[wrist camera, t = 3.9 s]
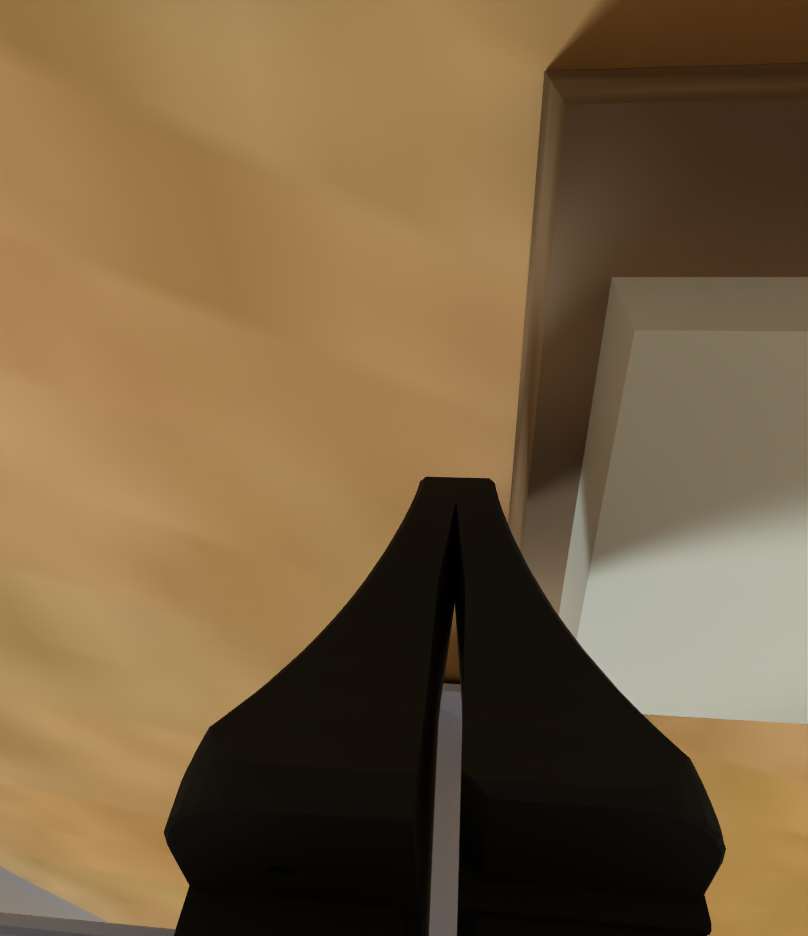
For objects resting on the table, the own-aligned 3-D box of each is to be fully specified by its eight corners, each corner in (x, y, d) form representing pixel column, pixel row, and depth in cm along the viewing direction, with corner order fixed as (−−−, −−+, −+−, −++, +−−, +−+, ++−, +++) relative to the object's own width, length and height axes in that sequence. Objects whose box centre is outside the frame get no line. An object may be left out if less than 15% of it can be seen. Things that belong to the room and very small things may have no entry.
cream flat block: (814, 649, 16) (853, 727, 14) (555, 636, 16) (563, 709, 15) (1011, 276, 10) (1109, 333, 9) (612, 277, 11) (634, 329, 9)
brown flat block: (838, 599, 20) (906, 718, 17) (503, 584, 21) (508, 694, 18) (1124, 53, 12) (1370, 85, 8) (544, 70, 13) (566, 104, 9)
